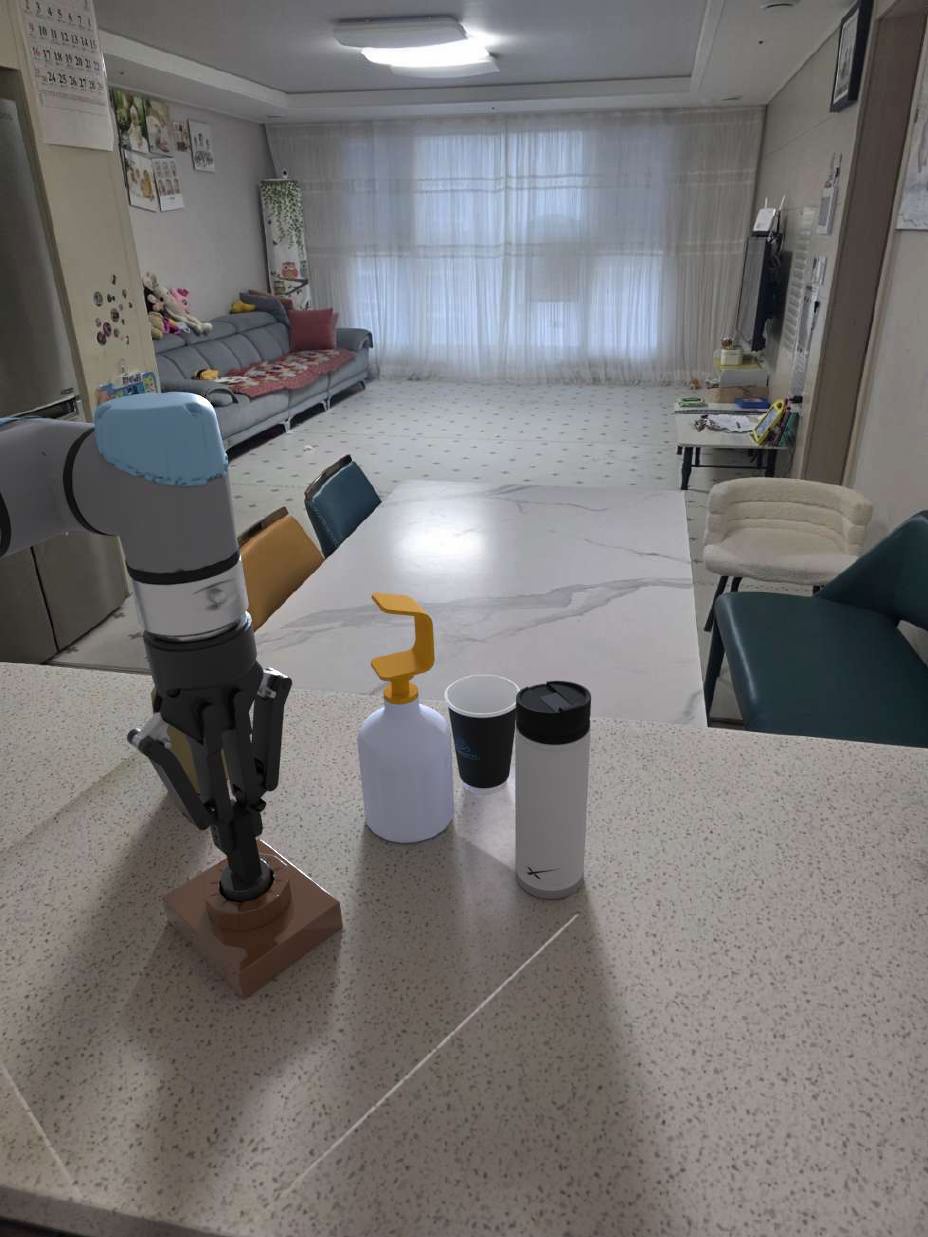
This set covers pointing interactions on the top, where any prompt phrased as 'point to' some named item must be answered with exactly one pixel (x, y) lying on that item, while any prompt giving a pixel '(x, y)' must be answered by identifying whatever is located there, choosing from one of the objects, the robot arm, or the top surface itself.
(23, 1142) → the top surface
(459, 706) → the dixie cup
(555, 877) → the travel mug
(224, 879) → the grey button cap
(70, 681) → the top surface
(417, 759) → the soap bottle
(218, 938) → the button base
